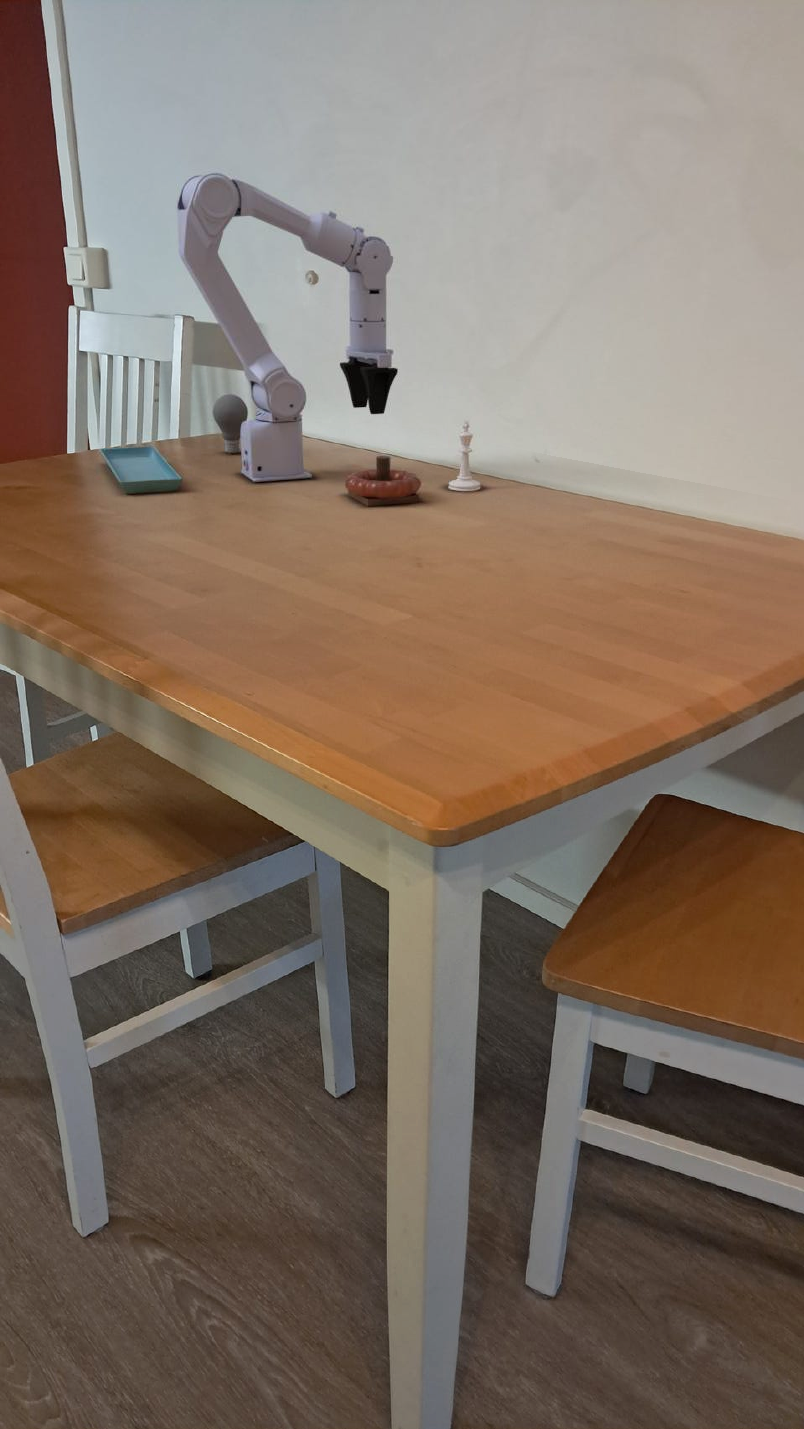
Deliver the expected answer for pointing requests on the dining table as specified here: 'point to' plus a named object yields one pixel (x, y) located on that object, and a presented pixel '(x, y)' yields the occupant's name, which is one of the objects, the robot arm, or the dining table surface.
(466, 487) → the chess piece
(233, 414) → the light bulb
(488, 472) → the dining table surface
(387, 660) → the dining table surface
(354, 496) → the post
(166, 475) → the teal serving tray
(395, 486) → the ring
